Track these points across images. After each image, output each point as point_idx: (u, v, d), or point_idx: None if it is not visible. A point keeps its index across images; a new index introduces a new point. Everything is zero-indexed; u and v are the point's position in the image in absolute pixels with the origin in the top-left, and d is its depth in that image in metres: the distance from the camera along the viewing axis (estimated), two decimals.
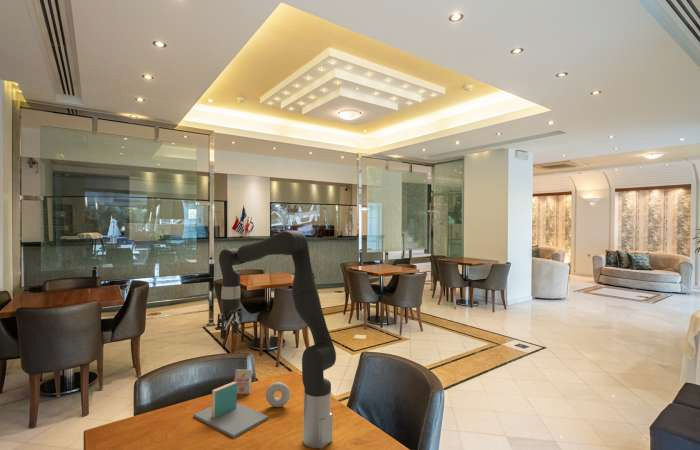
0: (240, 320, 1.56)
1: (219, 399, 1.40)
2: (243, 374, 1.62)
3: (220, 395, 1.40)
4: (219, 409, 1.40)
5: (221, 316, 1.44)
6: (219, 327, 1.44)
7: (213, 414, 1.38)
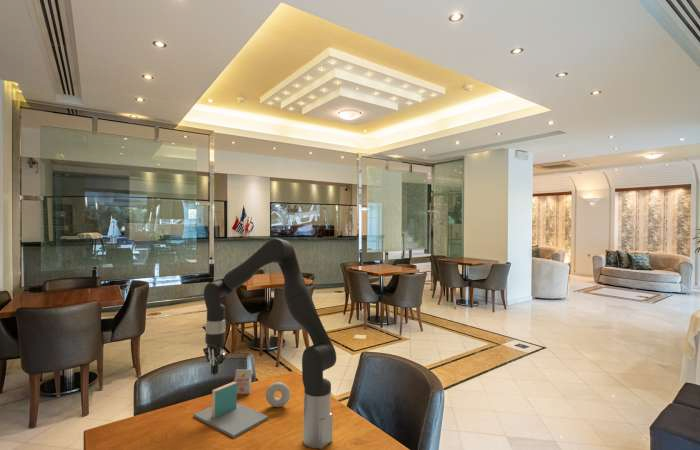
0: None
1: (219, 399, 1.40)
2: (243, 374, 1.62)
3: (220, 395, 1.40)
4: (219, 409, 1.40)
5: (225, 356, 1.44)
6: (219, 362, 1.45)
7: (213, 414, 1.38)
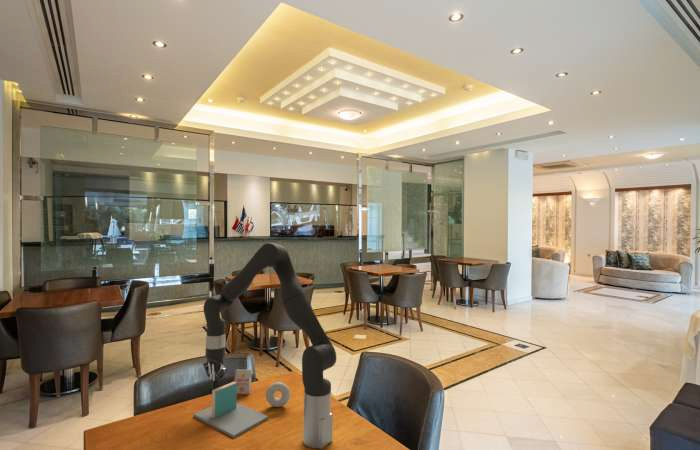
0: None
1: (219, 399, 1.40)
2: (243, 374, 1.62)
3: (220, 395, 1.40)
4: (219, 409, 1.40)
5: (225, 371, 1.44)
6: (219, 377, 1.45)
7: (213, 414, 1.38)
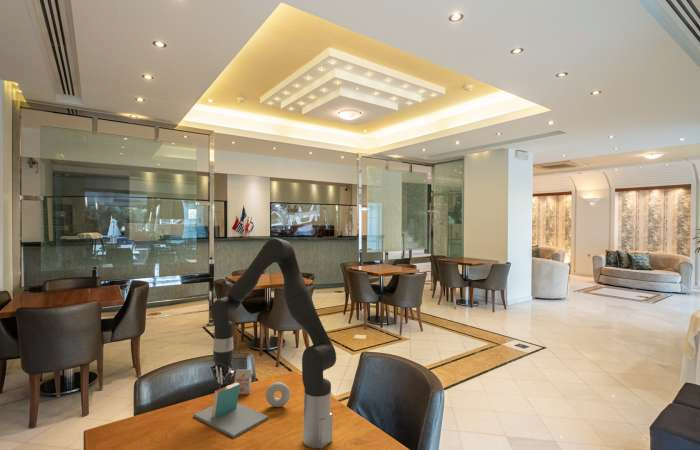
0: None
1: (221, 400, 1.39)
2: (243, 374, 1.62)
3: (222, 396, 1.39)
4: (220, 409, 1.39)
5: (233, 374, 1.41)
6: (227, 381, 1.42)
7: (213, 414, 1.38)
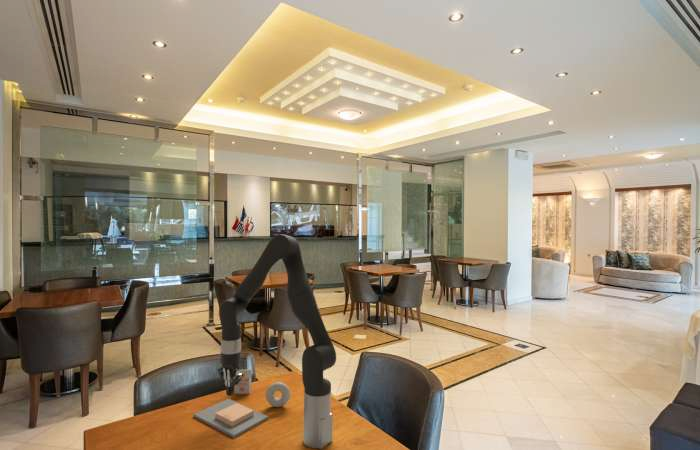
0: None
1: None
2: (243, 374, 1.62)
3: None
4: None
5: (241, 377, 1.38)
6: (234, 383, 1.39)
7: (217, 417, 1.37)
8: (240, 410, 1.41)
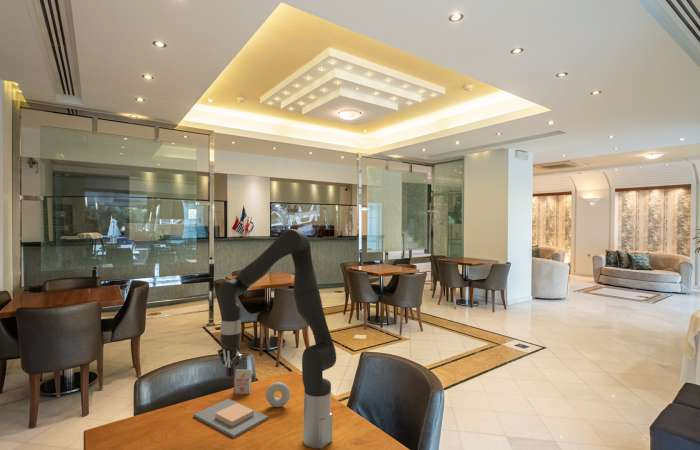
0: None
1: None
2: (243, 374, 1.62)
3: None
4: None
5: (241, 357, 1.38)
6: (235, 364, 1.39)
7: (217, 417, 1.37)
8: (240, 410, 1.41)
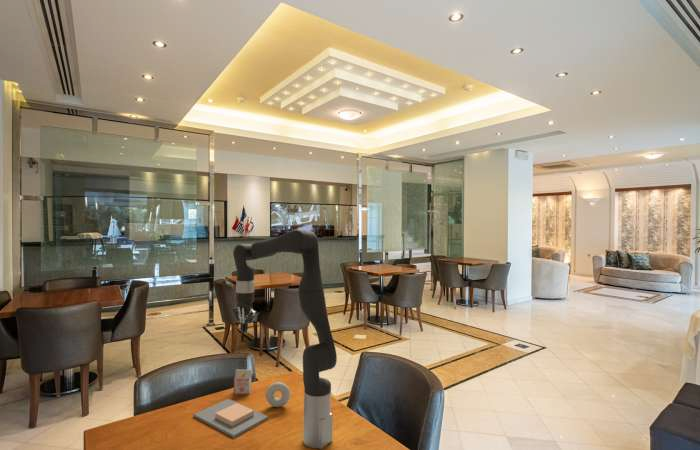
0: (243, 317, 1.57)
1: None
2: (243, 374, 1.62)
3: None
4: None
5: (254, 314, 1.52)
6: (248, 320, 1.53)
7: (217, 417, 1.37)
8: (240, 410, 1.41)
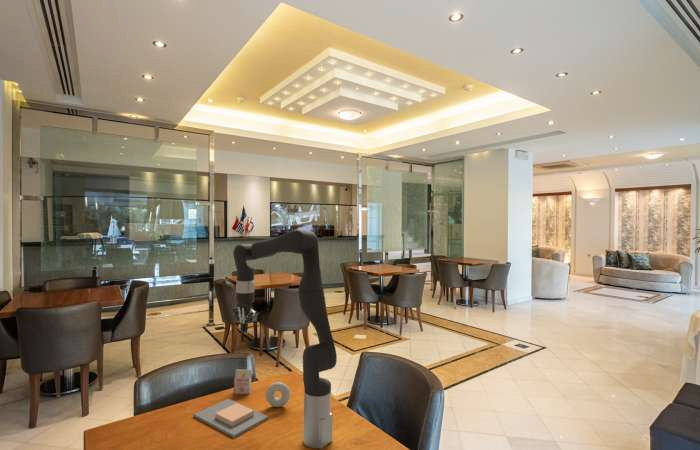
0: (243, 317, 1.57)
1: None
2: (243, 374, 1.62)
3: None
4: None
5: (254, 314, 1.52)
6: (248, 320, 1.53)
7: (217, 417, 1.37)
8: (240, 410, 1.41)
